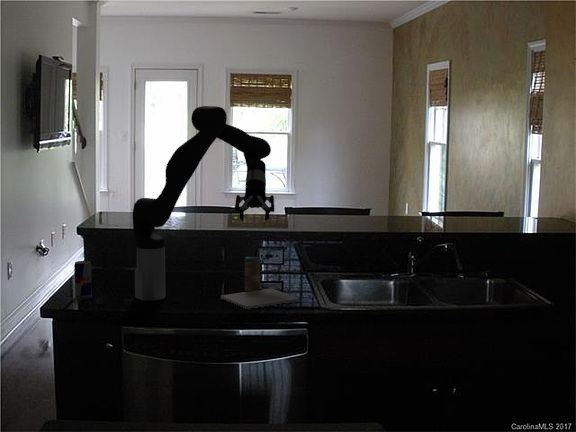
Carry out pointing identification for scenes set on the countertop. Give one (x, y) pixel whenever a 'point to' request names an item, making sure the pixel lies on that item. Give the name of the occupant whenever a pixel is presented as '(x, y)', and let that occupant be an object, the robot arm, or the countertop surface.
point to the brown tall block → (252, 273)
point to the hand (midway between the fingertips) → (254, 219)
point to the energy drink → (83, 280)
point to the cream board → (259, 298)
